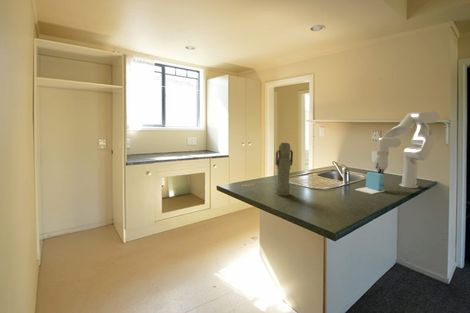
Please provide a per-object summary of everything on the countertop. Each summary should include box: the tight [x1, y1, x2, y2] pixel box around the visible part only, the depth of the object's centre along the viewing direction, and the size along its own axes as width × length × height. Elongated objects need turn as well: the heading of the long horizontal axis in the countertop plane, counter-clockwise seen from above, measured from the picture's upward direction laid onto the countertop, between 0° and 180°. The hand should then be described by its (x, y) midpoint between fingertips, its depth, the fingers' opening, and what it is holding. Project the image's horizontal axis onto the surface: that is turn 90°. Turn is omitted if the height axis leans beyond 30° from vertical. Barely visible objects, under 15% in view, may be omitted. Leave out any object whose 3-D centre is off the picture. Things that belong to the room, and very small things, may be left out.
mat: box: [354, 186, 386, 195], centre depth 198 cm, size 18×13×1 cm
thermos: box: [275, 142, 294, 197], centre depth 182 cm, size 9×12×35 cm
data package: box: [365, 171, 385, 191], centre depth 200 cm, size 12×4×12 cm, turn 20°
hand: (380, 177), depth 205 cm, fingers closed
